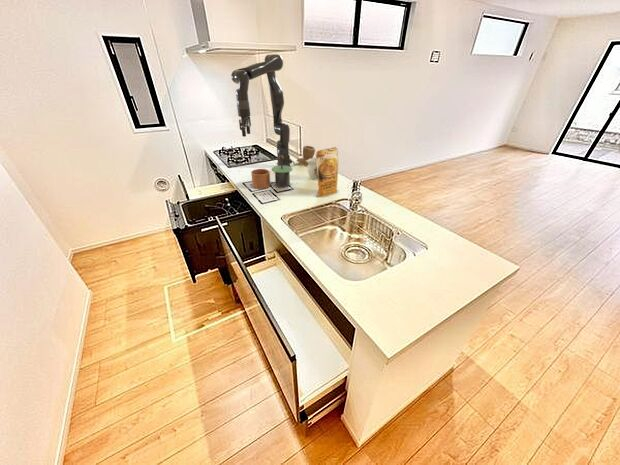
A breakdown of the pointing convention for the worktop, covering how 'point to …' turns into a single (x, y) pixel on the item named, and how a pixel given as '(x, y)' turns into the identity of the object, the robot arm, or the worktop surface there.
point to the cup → (282, 179)
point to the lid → (281, 167)
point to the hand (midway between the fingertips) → (246, 135)
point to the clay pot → (260, 178)
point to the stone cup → (306, 155)
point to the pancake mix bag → (327, 171)
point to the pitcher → (312, 168)
